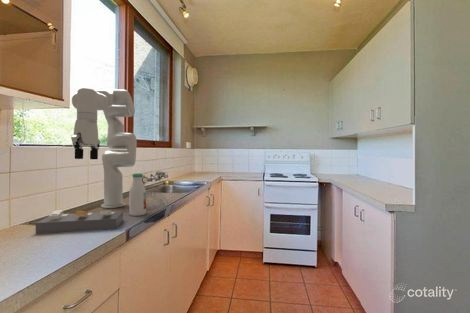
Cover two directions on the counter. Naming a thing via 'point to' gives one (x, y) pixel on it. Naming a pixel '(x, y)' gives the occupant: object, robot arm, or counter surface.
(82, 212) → the amber rocker
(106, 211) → the white rocker
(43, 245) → the counter surface
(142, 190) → the milk bottle
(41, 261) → the counter surface
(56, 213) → the white rocker
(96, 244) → the counter surface
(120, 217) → the power strip
